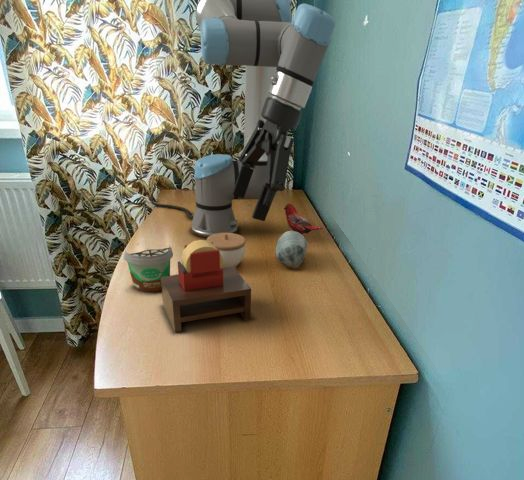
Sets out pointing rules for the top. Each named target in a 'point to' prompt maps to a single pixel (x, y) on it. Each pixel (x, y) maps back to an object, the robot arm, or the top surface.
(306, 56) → the robot arm
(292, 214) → the decorative bird figurine
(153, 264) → the food container
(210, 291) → the shelf
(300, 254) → the spool
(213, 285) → the tape dispenser
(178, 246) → the top surface
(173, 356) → the top surface
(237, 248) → the trinket box
